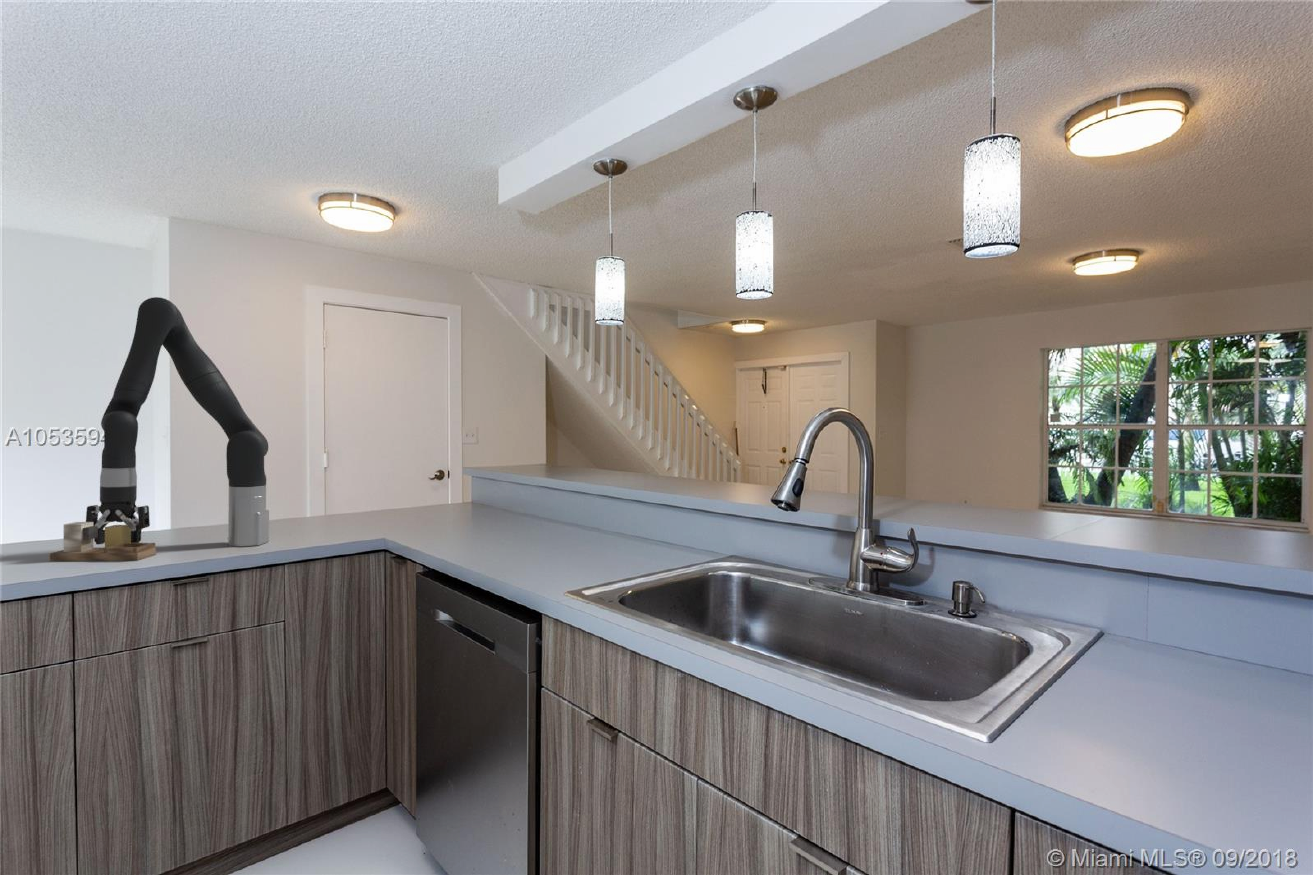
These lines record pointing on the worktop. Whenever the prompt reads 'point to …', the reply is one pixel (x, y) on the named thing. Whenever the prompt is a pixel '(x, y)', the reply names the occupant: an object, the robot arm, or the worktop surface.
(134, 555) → the rail
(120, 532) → the yellow and grey box
